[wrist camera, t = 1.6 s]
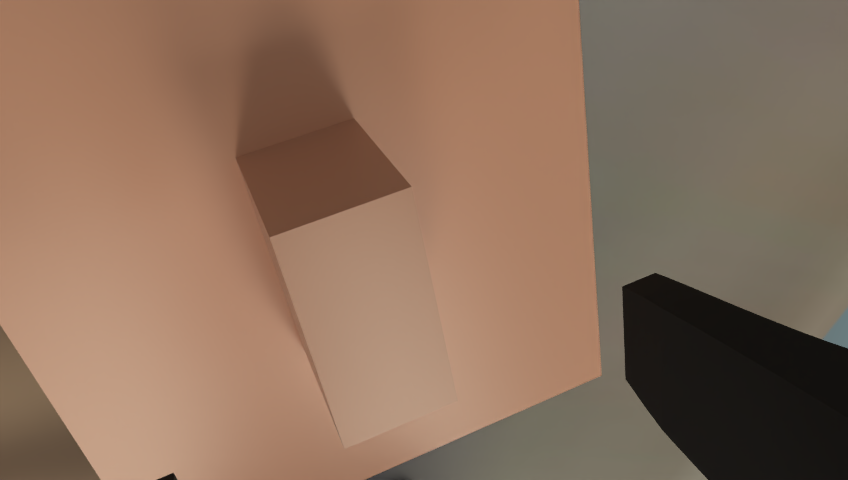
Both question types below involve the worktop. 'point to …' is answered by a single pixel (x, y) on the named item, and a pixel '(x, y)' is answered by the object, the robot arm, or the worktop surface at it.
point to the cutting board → (33, 428)
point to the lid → (293, 226)
